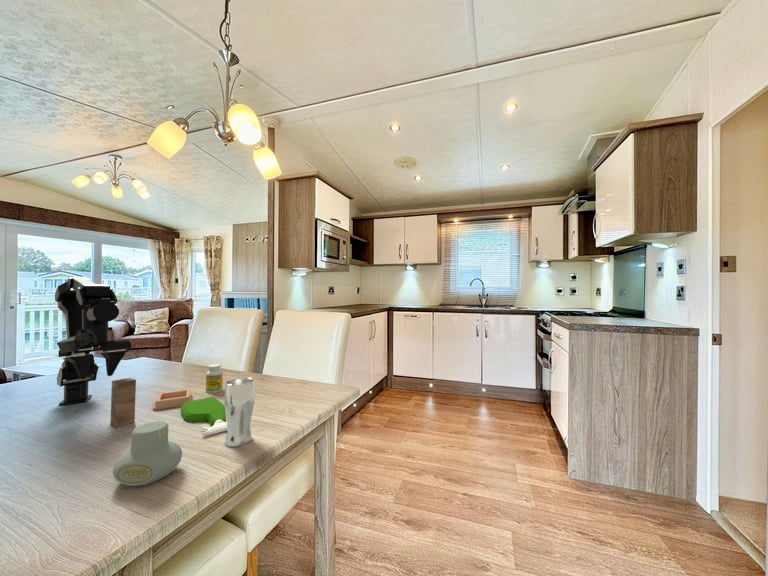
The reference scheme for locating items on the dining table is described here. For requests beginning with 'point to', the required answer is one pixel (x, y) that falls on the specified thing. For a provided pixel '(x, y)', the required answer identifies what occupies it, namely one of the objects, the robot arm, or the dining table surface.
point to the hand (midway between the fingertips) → (96, 377)
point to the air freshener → (148, 456)
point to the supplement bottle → (214, 379)
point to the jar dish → (172, 399)
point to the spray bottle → (206, 414)
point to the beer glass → (238, 410)
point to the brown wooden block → (123, 402)
